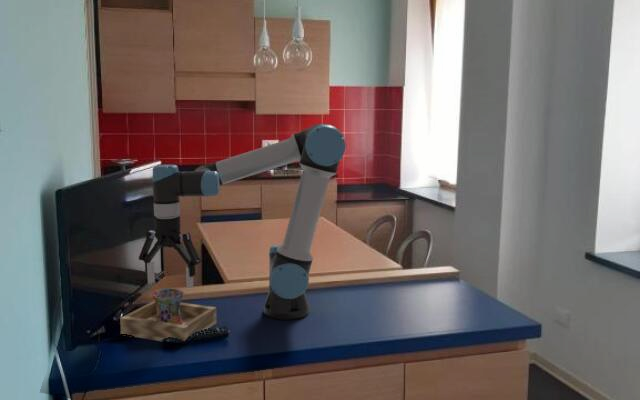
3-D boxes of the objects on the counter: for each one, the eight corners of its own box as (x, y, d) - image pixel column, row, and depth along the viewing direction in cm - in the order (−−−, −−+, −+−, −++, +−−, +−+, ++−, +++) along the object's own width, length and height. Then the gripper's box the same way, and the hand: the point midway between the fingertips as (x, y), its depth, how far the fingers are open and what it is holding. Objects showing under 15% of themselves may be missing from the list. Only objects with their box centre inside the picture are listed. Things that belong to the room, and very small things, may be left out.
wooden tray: (216, 322, 193) (216, 307, 192) (185, 345, 175) (184, 327, 174) (156, 314, 199) (156, 299, 199) (120, 334, 182) (120, 318, 181)
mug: (185, 330, 183) (184, 296, 181) (153, 333, 180) (152, 299, 178) (182, 317, 194) (181, 285, 192) (152, 319, 191) (151, 287, 190)
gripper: (210, 216, 181) (212, 284, 184) (139, 212, 189) (143, 277, 192) (197, 221, 174) (200, 291, 177) (124, 216, 182) (128, 284, 185)
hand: (170, 284), depth 185 cm, fingers open, 13 cm apart
